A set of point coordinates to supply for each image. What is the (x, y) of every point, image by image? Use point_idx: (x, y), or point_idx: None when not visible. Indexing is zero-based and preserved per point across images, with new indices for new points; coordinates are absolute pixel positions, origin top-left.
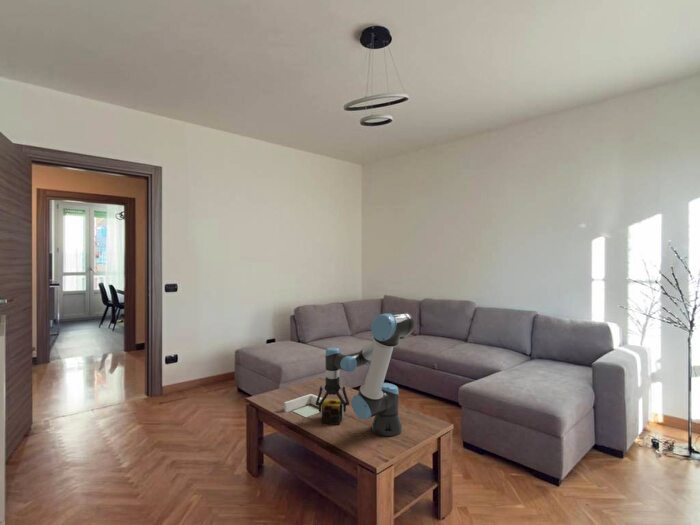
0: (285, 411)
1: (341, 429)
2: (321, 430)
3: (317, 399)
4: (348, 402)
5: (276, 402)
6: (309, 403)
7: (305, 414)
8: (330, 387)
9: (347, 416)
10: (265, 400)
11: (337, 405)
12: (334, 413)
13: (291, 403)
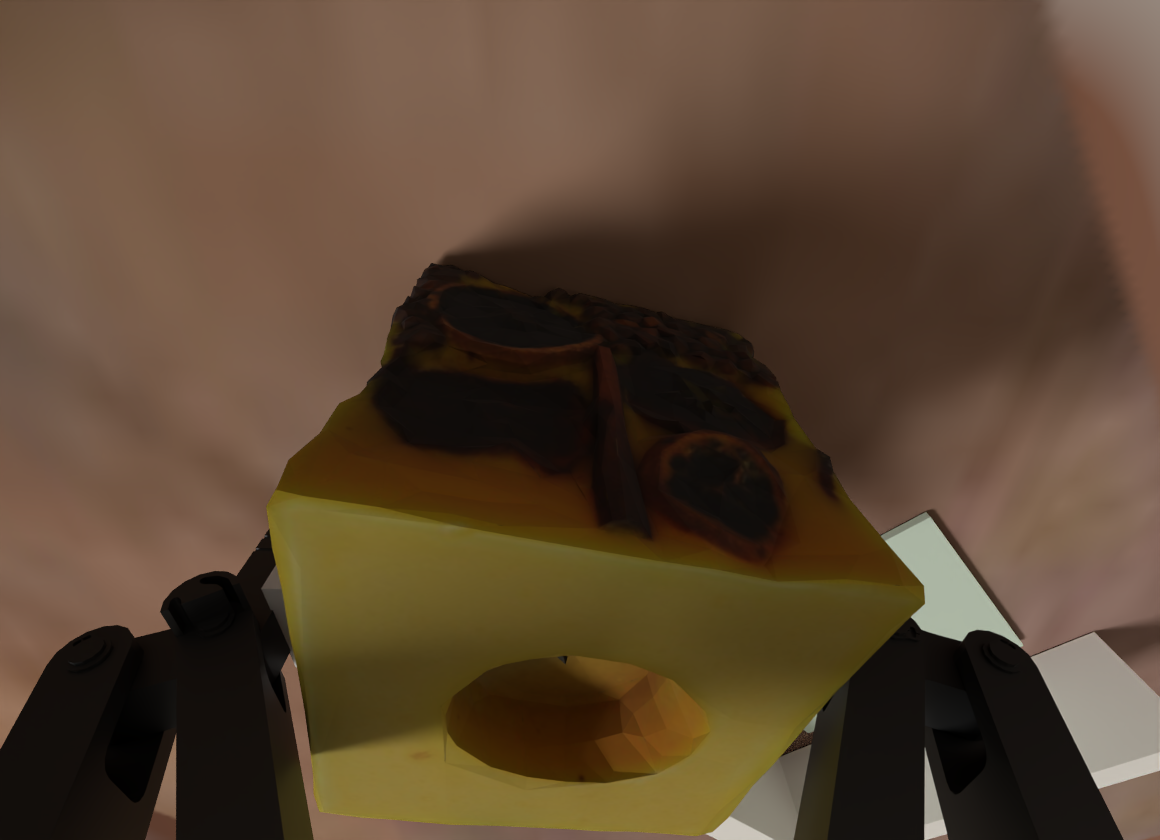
0: (1100, 640)
1: (357, 37)
2: (794, 2)
3: (1093, 810)
4: (31, 703)
5: None
6: (794, 757)
7: None
8: None
9: None
10: (1153, 790)
11: (353, 536)
12: (507, 398)
13: (1080, 743)
